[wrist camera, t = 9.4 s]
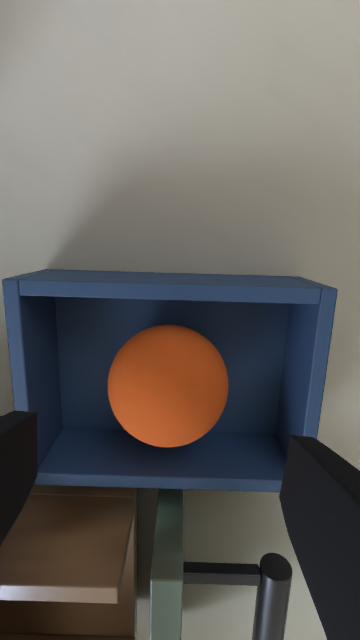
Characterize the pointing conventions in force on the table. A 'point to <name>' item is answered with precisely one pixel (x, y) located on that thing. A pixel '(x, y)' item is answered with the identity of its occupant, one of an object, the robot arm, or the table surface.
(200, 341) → the ball
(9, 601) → the drawer
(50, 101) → the table surface
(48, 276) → the tray
